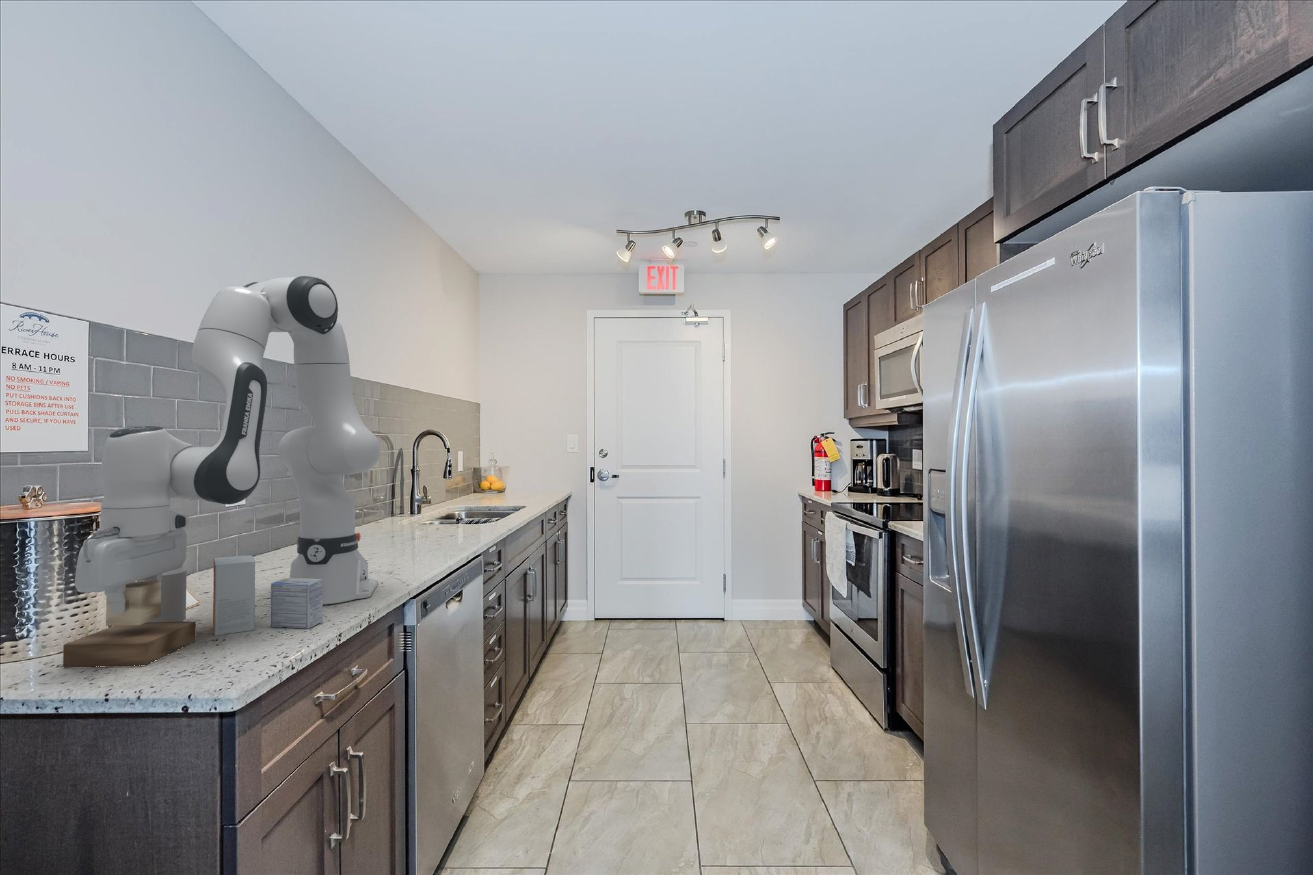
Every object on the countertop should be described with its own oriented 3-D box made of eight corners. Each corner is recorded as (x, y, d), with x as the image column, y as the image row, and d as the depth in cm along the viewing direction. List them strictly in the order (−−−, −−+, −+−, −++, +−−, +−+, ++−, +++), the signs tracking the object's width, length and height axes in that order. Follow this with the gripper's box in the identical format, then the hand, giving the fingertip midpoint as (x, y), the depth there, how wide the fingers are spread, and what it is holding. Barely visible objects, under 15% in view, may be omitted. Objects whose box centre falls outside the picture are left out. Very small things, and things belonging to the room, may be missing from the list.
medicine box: (323, 622, 121) (324, 578, 121) (308, 629, 117) (309, 583, 117) (285, 621, 122) (286, 577, 122) (269, 628, 118) (270, 582, 118)
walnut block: (122, 645, 108) (122, 622, 108) (195, 644, 109) (195, 621, 109) (63, 670, 96) (63, 645, 96) (145, 668, 97) (146, 643, 97)
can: (162, 632, 114) (164, 567, 114) (124, 631, 114) (125, 566, 115) (195, 621, 121) (196, 560, 122) (159, 619, 122) (160, 559, 122)
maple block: (129, 617, 105) (129, 581, 105) (160, 616, 105) (161, 581, 106) (105, 625, 100) (106, 588, 100) (139, 625, 100) (140, 588, 101)
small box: (212, 625, 119) (213, 557, 119) (251, 620, 123) (252, 554, 123) (213, 636, 112) (214, 564, 112) (255, 630, 116) (256, 560, 116)
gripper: (108, 532, 93) (106, 625, 93) (194, 516, 113) (193, 591, 113) (62, 533, 92) (60, 625, 92) (157, 516, 113) (156, 592, 112)
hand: (134, 606), depth 103 cm, fingers closed on maple block, 5 cm apart
